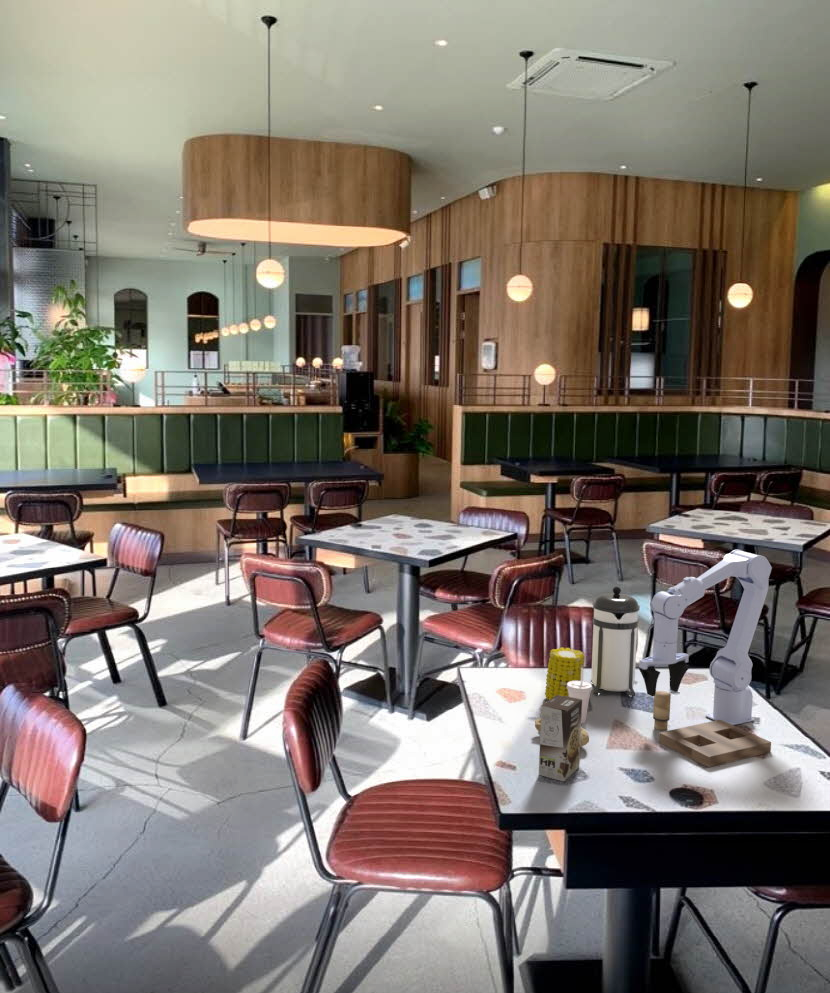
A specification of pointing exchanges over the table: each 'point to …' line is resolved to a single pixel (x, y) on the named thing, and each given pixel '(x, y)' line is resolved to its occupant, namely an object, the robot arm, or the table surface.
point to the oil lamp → (584, 734)
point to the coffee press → (614, 642)
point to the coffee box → (560, 737)
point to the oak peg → (661, 710)
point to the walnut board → (714, 743)
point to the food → (563, 670)
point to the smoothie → (580, 693)
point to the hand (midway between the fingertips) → (662, 692)
